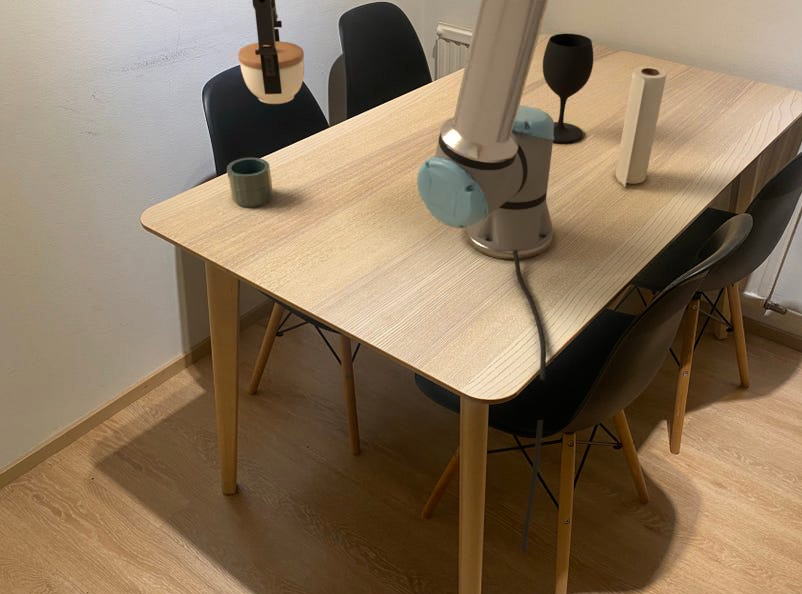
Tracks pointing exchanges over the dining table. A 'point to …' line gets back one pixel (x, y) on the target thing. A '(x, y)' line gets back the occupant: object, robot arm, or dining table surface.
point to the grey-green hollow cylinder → (250, 182)
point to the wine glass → (567, 76)
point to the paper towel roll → (640, 124)
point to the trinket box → (288, 68)
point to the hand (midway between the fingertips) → (274, 80)
